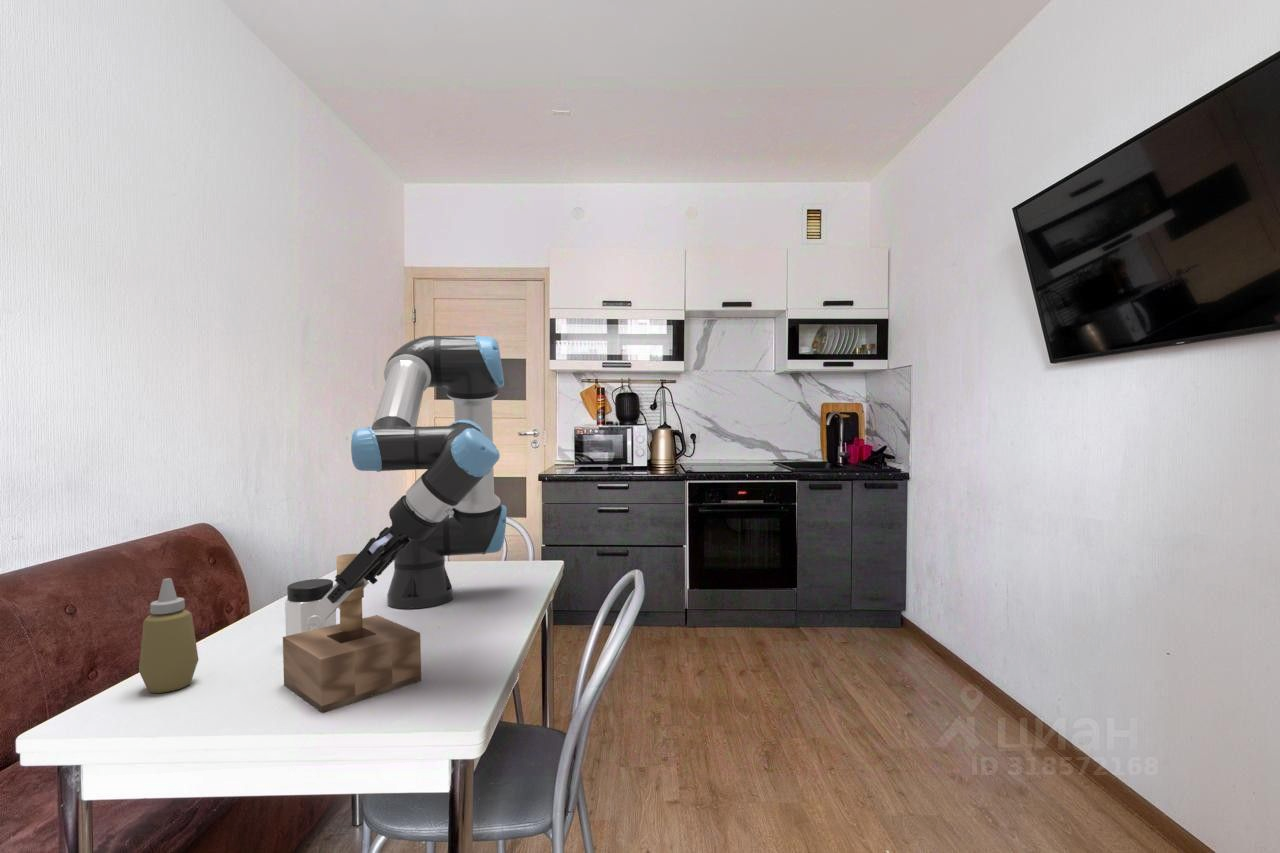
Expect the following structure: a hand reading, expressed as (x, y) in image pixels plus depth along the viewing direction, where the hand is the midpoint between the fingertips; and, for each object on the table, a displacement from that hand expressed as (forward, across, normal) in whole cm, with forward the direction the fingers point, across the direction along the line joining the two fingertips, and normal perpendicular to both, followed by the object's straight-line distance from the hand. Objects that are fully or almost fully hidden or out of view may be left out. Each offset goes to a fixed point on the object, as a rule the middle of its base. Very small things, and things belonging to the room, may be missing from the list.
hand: (329, 608), depth 110 cm
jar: (+19, +19, +2) cm, 27 cm away
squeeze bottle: (+28, -3, +10) cm, 30 cm away
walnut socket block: (+6, 0, -11) cm, 13 cm away
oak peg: (0, 0, -5) cm, 5 cm away
